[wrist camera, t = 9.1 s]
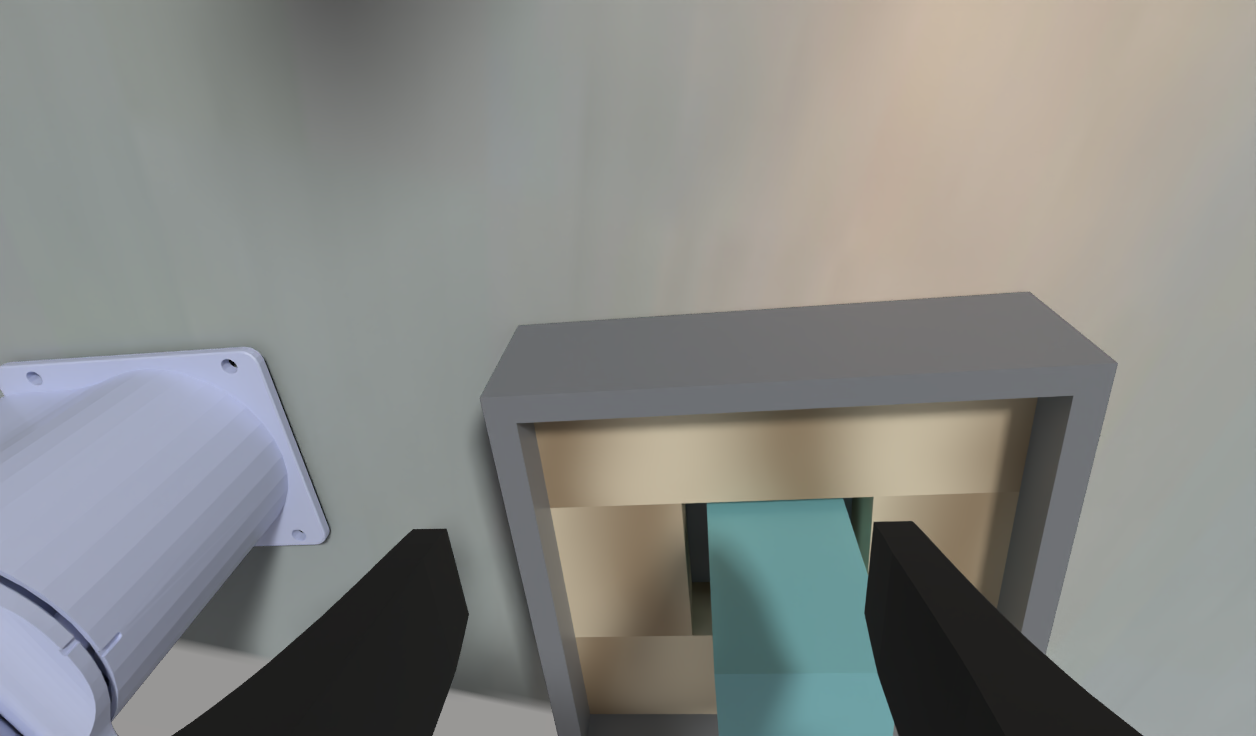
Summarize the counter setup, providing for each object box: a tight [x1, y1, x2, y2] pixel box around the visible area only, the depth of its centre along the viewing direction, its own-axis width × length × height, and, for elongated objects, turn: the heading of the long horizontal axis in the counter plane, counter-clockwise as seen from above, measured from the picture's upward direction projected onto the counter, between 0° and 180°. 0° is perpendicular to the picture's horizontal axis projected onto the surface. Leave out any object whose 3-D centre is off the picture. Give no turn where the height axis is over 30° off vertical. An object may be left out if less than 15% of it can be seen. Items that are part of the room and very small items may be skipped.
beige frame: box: [534, 397, 1038, 714], centre depth 22 cm, size 13×13×2 cm
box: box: [480, 292, 1118, 736], centre depth 22 cm, size 15×15×4 cm
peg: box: [707, 498, 894, 736], centre depth 20 cm, size 4×4×8 cm
